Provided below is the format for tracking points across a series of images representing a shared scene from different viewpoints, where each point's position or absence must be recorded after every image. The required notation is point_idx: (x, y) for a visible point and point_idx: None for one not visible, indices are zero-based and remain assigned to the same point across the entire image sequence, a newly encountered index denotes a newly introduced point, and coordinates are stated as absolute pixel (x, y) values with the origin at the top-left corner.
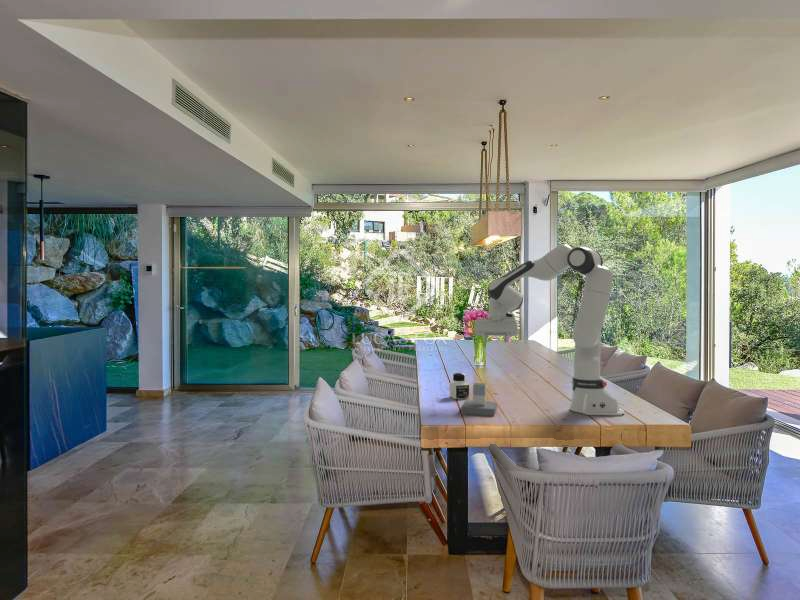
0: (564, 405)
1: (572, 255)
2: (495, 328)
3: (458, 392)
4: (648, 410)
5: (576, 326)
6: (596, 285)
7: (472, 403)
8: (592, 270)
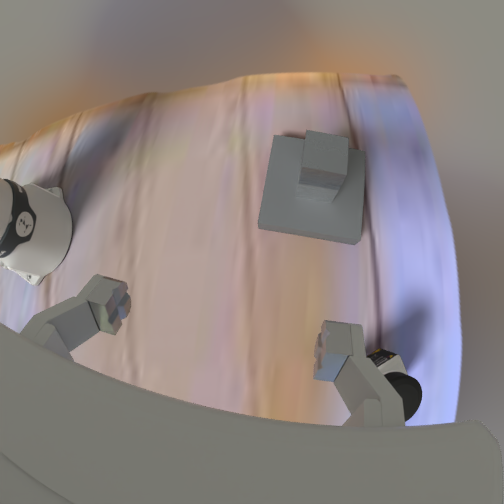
0: (68, 288)
1: None
2: (164, 449)
3: (381, 355)
4: None
5: None
6: None
7: (337, 197)
8: None
